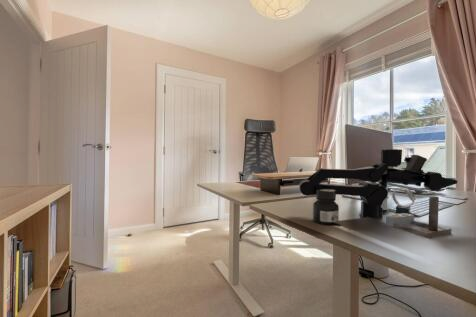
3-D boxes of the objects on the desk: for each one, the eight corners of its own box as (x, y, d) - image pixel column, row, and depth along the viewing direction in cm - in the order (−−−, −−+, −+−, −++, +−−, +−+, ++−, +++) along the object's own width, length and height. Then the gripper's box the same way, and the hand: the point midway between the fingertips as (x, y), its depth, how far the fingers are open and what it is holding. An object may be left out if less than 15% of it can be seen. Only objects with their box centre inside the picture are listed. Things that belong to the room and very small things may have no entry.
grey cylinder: (419, 233, 70) (420, 196, 69) (434, 230, 72) (435, 195, 72) (430, 236, 67) (432, 198, 66) (446, 233, 70) (447, 196, 69)
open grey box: (385, 227, 78) (385, 220, 78) (406, 224, 82) (406, 217, 82) (429, 242, 66) (429, 233, 66) (451, 236, 70) (451, 228, 70)
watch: (414, 217, 91) (415, 190, 91) (390, 213, 97) (391, 187, 96) (416, 214, 95) (416, 188, 95) (393, 210, 101) (393, 186, 101)
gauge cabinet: (385, 227, 78) (385, 215, 78) (406, 224, 82) (406, 212, 82) (392, 230, 75) (393, 216, 75) (414, 226, 80) (414, 213, 79)
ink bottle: (324, 227, 78) (325, 192, 78) (307, 220, 87) (307, 188, 86) (344, 223, 82) (345, 190, 82) (326, 217, 91) (326, 187, 90)
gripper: (414, 157, 77) (470, 159, 73) (391, 153, 95) (435, 156, 91) (410, 189, 78) (465, 193, 74) (389, 180, 96) (432, 183, 92)
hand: (448, 179), depth 83 cm, fingers open, 9 cm apart
